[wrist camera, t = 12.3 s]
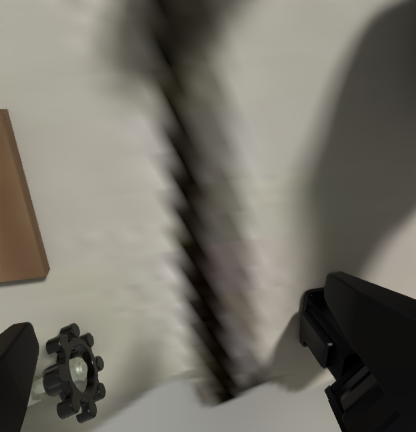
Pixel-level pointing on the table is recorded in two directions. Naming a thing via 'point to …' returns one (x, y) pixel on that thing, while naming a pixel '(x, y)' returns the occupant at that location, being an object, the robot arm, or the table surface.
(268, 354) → the table surface
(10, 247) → the base plate
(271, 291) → the table surface
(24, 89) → the table surface
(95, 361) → the valve
